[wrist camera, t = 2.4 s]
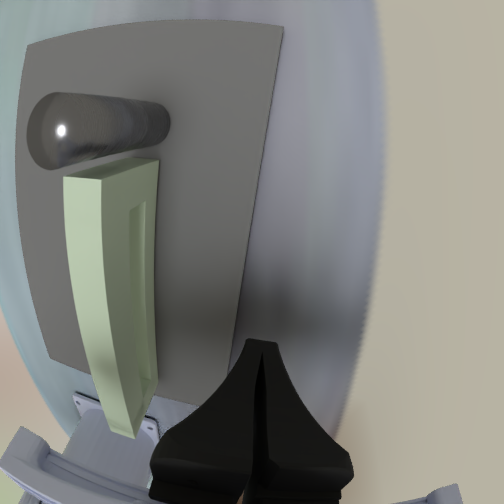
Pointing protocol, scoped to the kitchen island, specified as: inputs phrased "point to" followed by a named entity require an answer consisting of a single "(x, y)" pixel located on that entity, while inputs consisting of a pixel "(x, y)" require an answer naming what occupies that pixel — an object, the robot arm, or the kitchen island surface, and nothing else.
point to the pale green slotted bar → (115, 282)
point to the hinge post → (91, 127)
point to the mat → (160, 180)
